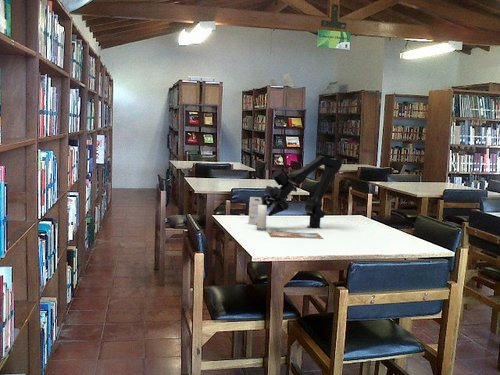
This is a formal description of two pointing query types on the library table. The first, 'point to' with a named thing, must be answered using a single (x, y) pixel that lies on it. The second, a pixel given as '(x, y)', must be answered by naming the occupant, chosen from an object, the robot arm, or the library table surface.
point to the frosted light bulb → (261, 217)
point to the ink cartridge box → (254, 210)
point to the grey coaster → (308, 235)
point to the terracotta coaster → (281, 234)
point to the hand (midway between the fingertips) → (263, 213)
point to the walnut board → (295, 235)
